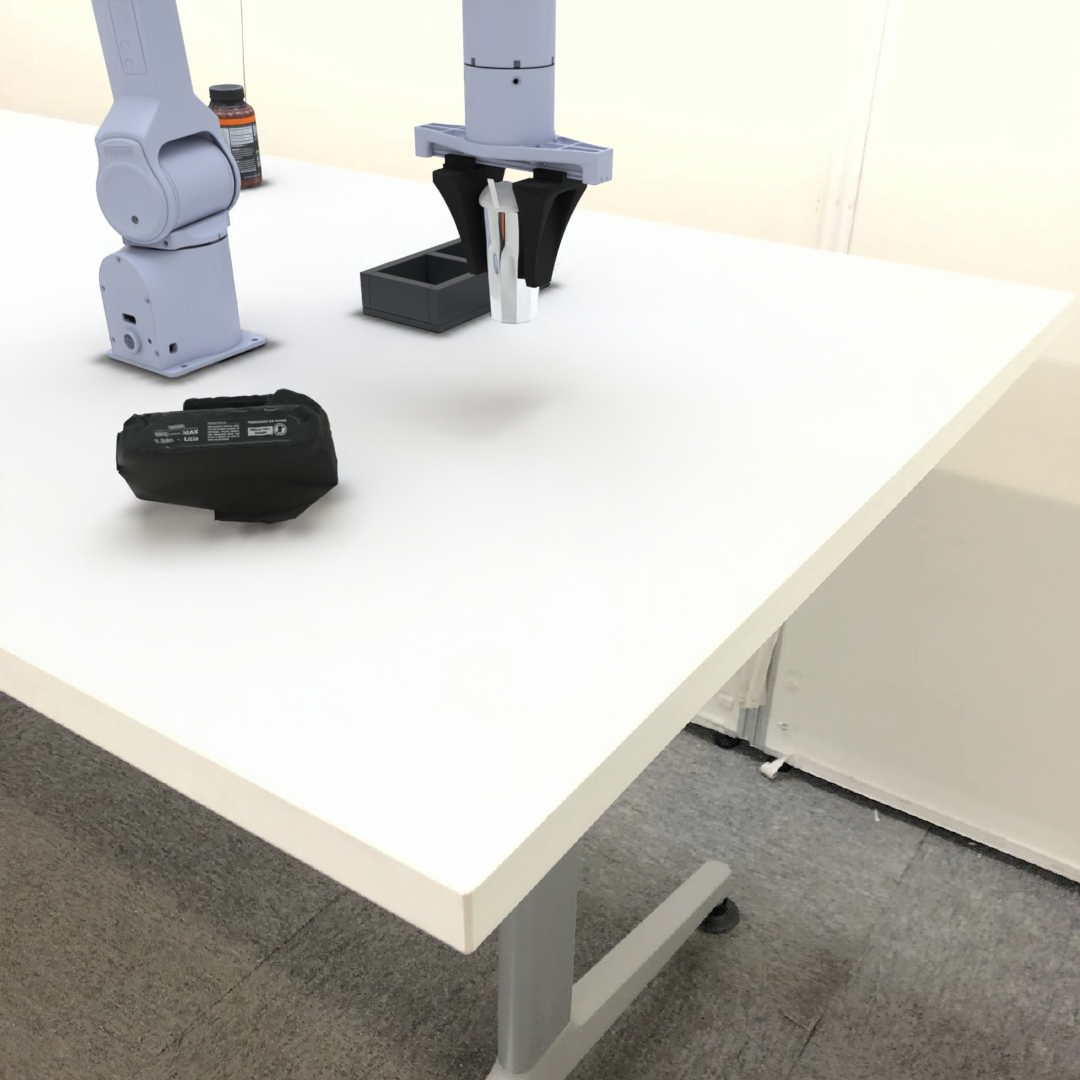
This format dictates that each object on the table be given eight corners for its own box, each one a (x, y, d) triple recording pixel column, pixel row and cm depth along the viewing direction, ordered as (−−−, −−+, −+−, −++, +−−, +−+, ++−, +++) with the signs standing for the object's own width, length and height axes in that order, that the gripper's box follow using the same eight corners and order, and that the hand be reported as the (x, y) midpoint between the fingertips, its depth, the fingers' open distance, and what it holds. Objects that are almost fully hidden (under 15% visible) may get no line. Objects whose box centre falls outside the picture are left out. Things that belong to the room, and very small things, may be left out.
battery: (353, 534, 66) (345, 431, 69) (325, 473, 59) (318, 360, 61) (150, 561, 66) (150, 456, 69) (97, 503, 58) (99, 387, 61)
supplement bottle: (209, 181, 139) (195, 84, 134) (257, 177, 141) (245, 81, 136) (218, 191, 135) (205, 91, 129) (268, 187, 137) (256, 88, 131)
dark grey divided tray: (550, 285, 103) (550, 246, 101) (439, 333, 92) (437, 290, 90) (477, 269, 107) (476, 231, 106) (362, 313, 96) (359, 272, 94)
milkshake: (462, 324, 77) (459, 174, 72) (501, 302, 81) (500, 159, 76) (520, 335, 75) (521, 183, 70) (557, 313, 79) (560, 167, 74)
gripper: (642, 66, 69) (631, 282, 76) (458, 48, 76) (463, 246, 83) (579, 79, 64) (574, 309, 71) (389, 58, 71) (400, 269, 78)
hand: (510, 277), depth 77 cm, fingers closed on milkshake, 4 cm apart
